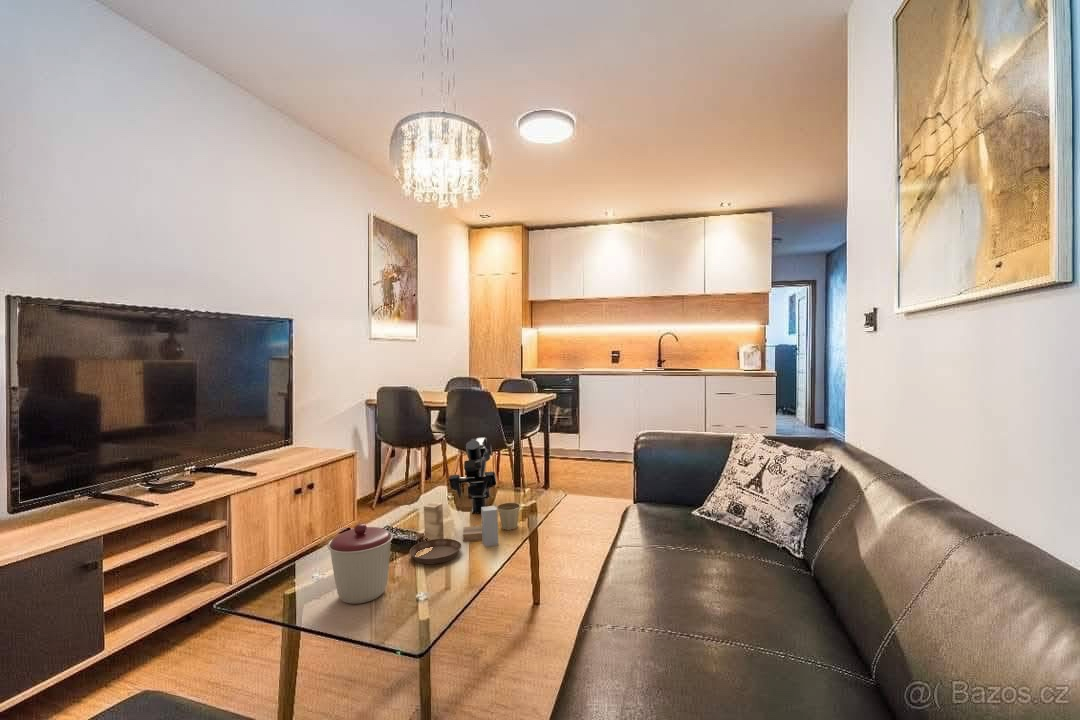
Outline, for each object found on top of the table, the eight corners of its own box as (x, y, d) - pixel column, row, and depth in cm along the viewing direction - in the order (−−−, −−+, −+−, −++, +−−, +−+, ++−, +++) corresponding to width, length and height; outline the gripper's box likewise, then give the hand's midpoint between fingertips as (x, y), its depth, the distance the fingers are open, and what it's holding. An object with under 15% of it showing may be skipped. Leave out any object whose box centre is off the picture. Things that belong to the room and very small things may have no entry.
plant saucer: (400, 557, 172) (399, 548, 172) (443, 542, 184) (442, 534, 184) (428, 572, 159) (427, 562, 159) (471, 555, 172) (471, 546, 172)
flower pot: (510, 533, 190) (510, 511, 190) (492, 528, 196) (492, 507, 196) (526, 526, 198) (525, 504, 198) (508, 521, 204) (507, 501, 203)
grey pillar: (482, 541, 183) (481, 507, 183) (495, 540, 184) (494, 505, 184) (484, 546, 178) (483, 511, 178) (498, 544, 179) (497, 509, 179)
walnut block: (463, 534, 192) (463, 527, 192) (484, 533, 193) (484, 525, 193) (463, 542, 184) (462, 534, 184) (484, 540, 185) (484, 532, 185)
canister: (373, 575, 157) (370, 510, 157) (407, 591, 146) (404, 521, 146) (317, 598, 143) (315, 526, 143) (350, 618, 132) (347, 540, 132)
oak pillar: (432, 535, 191) (431, 502, 190) (443, 537, 189) (442, 503, 189) (424, 540, 186) (423, 506, 186) (436, 541, 184) (434, 507, 184)
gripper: (448, 455, 203) (443, 484, 190) (493, 451, 202) (491, 480, 189) (453, 474, 209) (449, 503, 196) (497, 470, 208) (495, 499, 195)
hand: (470, 496), depth 194 cm, fingers open, 9 cm apart
